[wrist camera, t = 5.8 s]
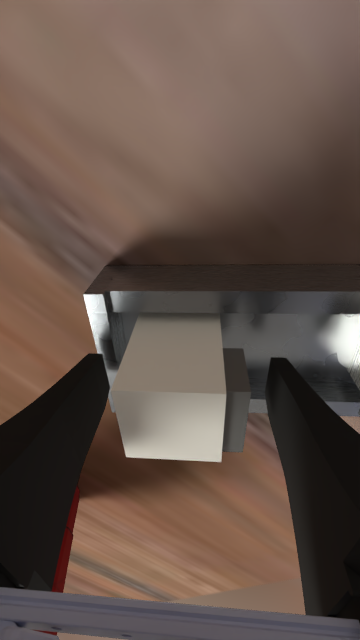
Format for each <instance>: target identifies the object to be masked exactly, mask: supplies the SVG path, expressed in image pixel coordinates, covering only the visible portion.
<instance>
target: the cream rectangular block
mask: <svg viewBox="0 0 360 640" xmlns="http://www.w3.org/2000/svg"><path fill="white" fill-rule="evenodd" d="M111 394H112V398H113V403H114V407H115V411H116V416H117V420H118V424H119V428H120V433H121V437H122V441H123V446H124V450H125V454H126V457H132V458H152V459H171V460H191V461H210V462H221V458H222V451H224V452H243V446H244V439H245V432H246V425H247V418H248V411H249V404H250V397H251V388H250V383H249V377H248V372H247V366H246V361H245V355H244V350H243V348H223V347H222V335H221V323H220V313H139V316H138V318H137V321H136V324H135V326H134V329H133V332H132V334H131V337H130V340H129V343H128V345H127V348H126V351H125V353H124V356H123V359H122V361H121V364H120V367H119V369H118V372H117V375H116V377H115V380H114V383H113V385H112V388H111Z"/></svg>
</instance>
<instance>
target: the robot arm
mask: <svg viewBox="0 0 360 640" xmlns="http://www.w3.org/2000/svg"><path fill="white" fill-rule="evenodd" d="M109 390H110V385H109V380H108V376H107V372H106V368H105V363H104V359H103V355H102V354H88V355H86V356H85V357H84V358H83V359H82V360H81V361H80V362H79V363H78V364H77V365H76V366H74V367H73V368H72V369H71V370H70V371H69V372H68V373H67V374H66V375H65V376H63V377H62V378H61V379H60V380H59V381H58V382H57V383H56V384H54V385H53V386H52V387H51V388H50V389H48V390H47V391H46V392H45V393H44V394H42V395H41V396H40V397H39V398H37V399H36V400H35V401H34V402H33V403H31V404H30V405H29V406H27V407H26V408H25V409H23V410H22V411H20V412H19V413H18V414H16V415H15V416H13V417H12V418H10V419H9V420H8V421H6V422H5V423H3V424H1V425H0V640H59V638H58V636H56V635H51V634H47V633H43V632H39V631H34V630H41V631H51V632H60V633H70V634H80V635H89V636H99V637H109V638H119V639H128V640H360V434H359V433H358V432H356V431H355V430H354V429H353V428H352V427H351V426H349V425H348V424H347V423H346V422H345V421H344V420H343V419H342V418H341V417H340V416H338V415H337V414H336V413H335V412H334V411H333V410H332V409H331V408H330V407H329V406H328V405H327V404H326V403H325V401H324V400H323V399H322V398H321V397H320V396H319V395H318V394H317V393H316V392H315V391H314V390H313V389H312V387H311V386H310V385H309V384H308V383H307V382H306V381H305V379H304V378H303V377H302V376H301V375H300V374H299V372H298V371H297V370H296V369H295V368H294V366H293V365H292V364H291V363H290V362H289V360H288V359H287V358H283V357H271V359H270V365H269V371H268V376H267V382H266V387H265V398H266V405H267V411H268V416H269V420H270V424H271V427H272V431H273V435H274V438H275V442H276V445H277V449H278V452H279V456H280V460H281V463H282V467H283V471H284V475H285V480H286V485H287V491H288V496H289V502H290V508H291V514H292V520H293V526H294V532H295V538H296V545H297V552H298V559H299V565H300V573H301V581H302V588H303V596H304V603H305V611H306V615H299V614H288V613H277V612H267V611H255V610H244V609H234V608H223V607H212V606H201V605H190V604H179V603H168V602H158V601H147V600H136V599H125V598H114V597H103V596H92V595H81V594H70V593H59V592H51V591H52V587H53V582H54V578H55V573H56V568H57V564H58V559H59V554H60V550H61V545H62V541H63V537H64V533H65V529H66V525H67V521H68V516H69V513H70V509H71V505H72V501H73V498H74V494H75V490H76V487H77V483H78V480H79V476H80V473H81V469H82V466H83V463H84V461H85V458H86V455H87V453H88V450H89V448H90V445H91V443H92V440H93V438H94V435H95V433H96V430H97V428H98V425H99V422H100V420H101V417H102V415H103V412H104V409H105V406H106V402H107V398H108V394H109ZM30 629H31V630H30Z"/></svg>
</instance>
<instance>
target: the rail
mask: <svg viewBox="0 0 360 640" xmlns="http://www.w3.org/2000/svg"><path fill="white" fill-rule="evenodd" d="M83 295H84V299H85V303H86V307H87V312H88V316H89V320H90V324H91V328H92V332H93V336H94V340H95V344H96V348H97V352H98V354H102V355H103V359H104V363H105V368H106V372H107V376H108V380H109V385H110V390H109V394H108V397H109V401H110V406H111V410H112V412H116V411H115V407H114V403H113V398H112V394H111V388H112V385H113V383H114V380H115V377H116V375H117V372H118V369H119V367H120V364H121V361H122V359H123V356H124V353H125V351H126V348H127V345H128V343H129V340H130V337H131V334H132V332H133V329H134V326H135V324H136V321H137V318H138V316H139V313H220V323H221V335H222V347H223V348H243V350H244V355H245V361H246V366H247V372H248V377H249V383H250V388H251V397H250V404H249V411H248V412H249V413H268V411H267V405H266V398H265V387H266V382H267V376H268V371H269V365H270V359H271V357H283V358H287V359H288V360H289V362H290V363H291V364H292V365H293V366H294V368H295V369H296V370H297V371H298V372H299V374H300V375H301V376H302V377H303V378H304V379H305V381H306V382H307V383H308V384H309V385H310V386H311V387H312V389H313V390H314V391H315V392H316V393H317V394H318V395H319V396H320V397H321V398H322V399H323V400H324V401H325V403H326V404H327V405H328V406H329V407H330V408H331V409H332V410H333V411H334V412H335V413H336V414H337V415H338V416H359V417H360V265H167V266H105V267H104V268H103V270H102V271H101V272H100V274H99V275H98V276H97V277H96V279H95V280H94V281H93V283H92V284H91V285H90V286H89V288H88V289H87V290H86V292H85V293H84V294H83Z"/></svg>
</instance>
